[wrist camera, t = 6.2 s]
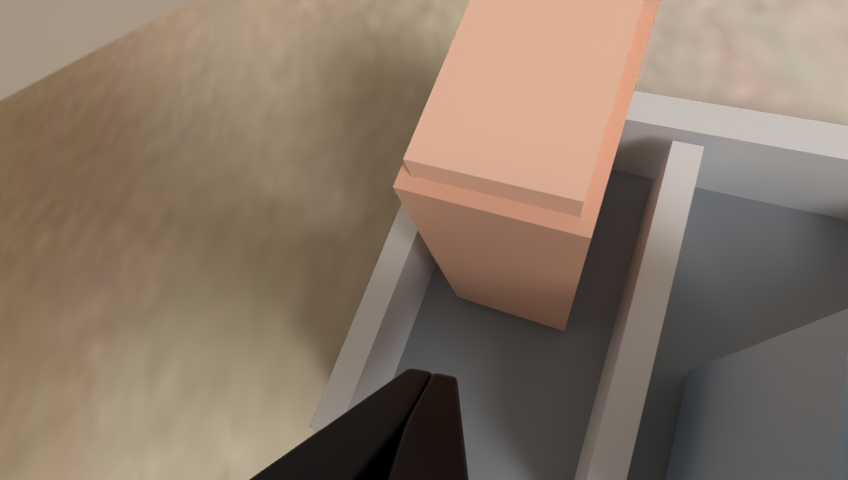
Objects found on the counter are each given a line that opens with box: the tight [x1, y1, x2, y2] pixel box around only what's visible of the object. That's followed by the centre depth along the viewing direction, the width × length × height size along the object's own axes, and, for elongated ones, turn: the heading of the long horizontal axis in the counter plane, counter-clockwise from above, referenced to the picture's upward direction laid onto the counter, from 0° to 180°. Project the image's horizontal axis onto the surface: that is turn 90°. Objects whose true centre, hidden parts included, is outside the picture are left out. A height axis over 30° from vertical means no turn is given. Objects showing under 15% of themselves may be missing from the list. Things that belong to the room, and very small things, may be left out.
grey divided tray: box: [310, 91, 848, 480], centre depth 13 cm, size 22×14×4 cm, turn 69°
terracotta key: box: [393, 0, 660, 331], centre depth 12 cm, size 4×5×9 cm
